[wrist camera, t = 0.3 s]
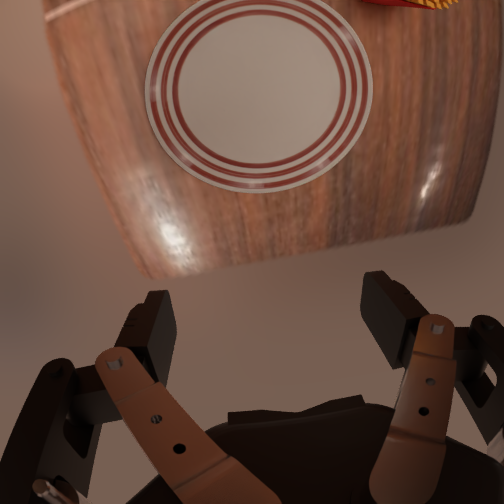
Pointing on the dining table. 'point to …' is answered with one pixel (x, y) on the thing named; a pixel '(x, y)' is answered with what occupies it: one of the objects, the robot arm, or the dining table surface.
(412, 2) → the french fries
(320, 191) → the dining table surface
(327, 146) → the dinner plate
